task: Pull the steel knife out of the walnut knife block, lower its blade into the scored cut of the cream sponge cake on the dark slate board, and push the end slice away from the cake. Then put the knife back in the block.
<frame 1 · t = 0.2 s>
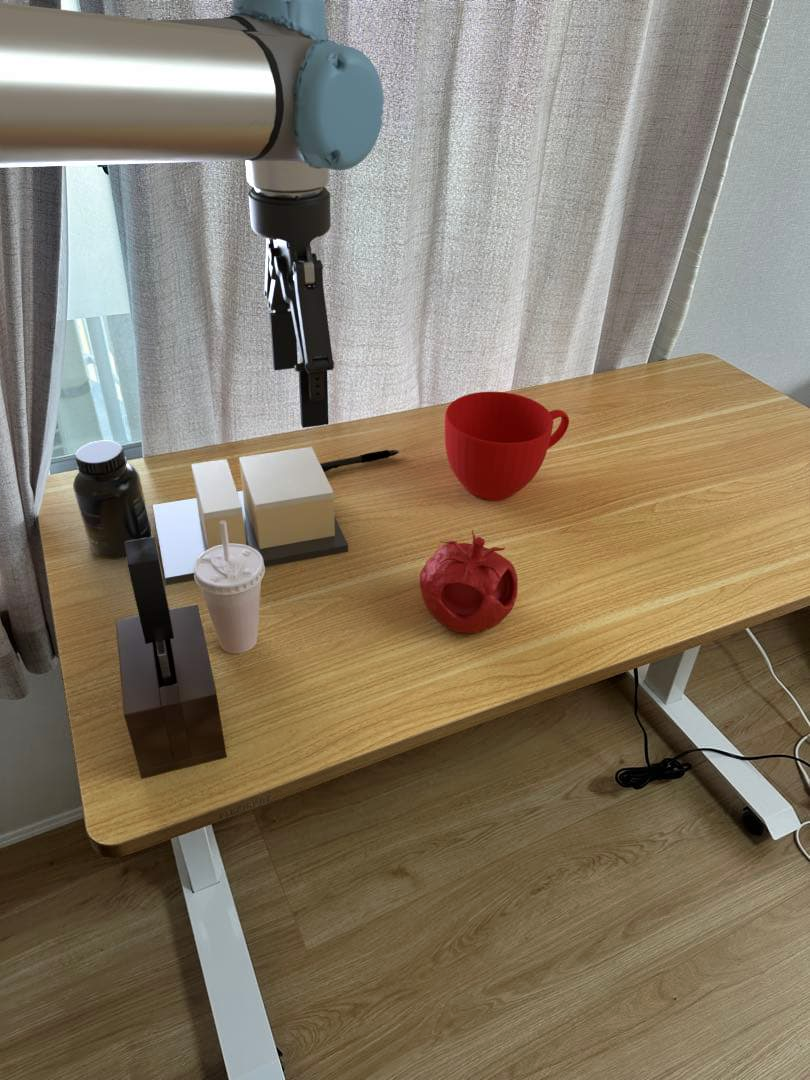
hand: (299, 394, 87), 15 cm above the table, tool pointing down, fingers open, 13 cm apart
ceramic cup: (503, 483, 103), on the table
cake: (288, 524, 95), resting on cake board
pen: (349, 467, 105), on the table
knife block: (177, 718, 71), on the table
knife: (175, 711, 71), point 1 cm above the table, touching knife block
supplement bottle: (121, 543, 91), on the table
smoothie: (238, 641, 79), on the table
cake slice: (221, 528, 92), point 1 cm above the table, touching cake board
pomegranate: (466, 612, 84), on the table
cake board: (248, 531, 93), on the table
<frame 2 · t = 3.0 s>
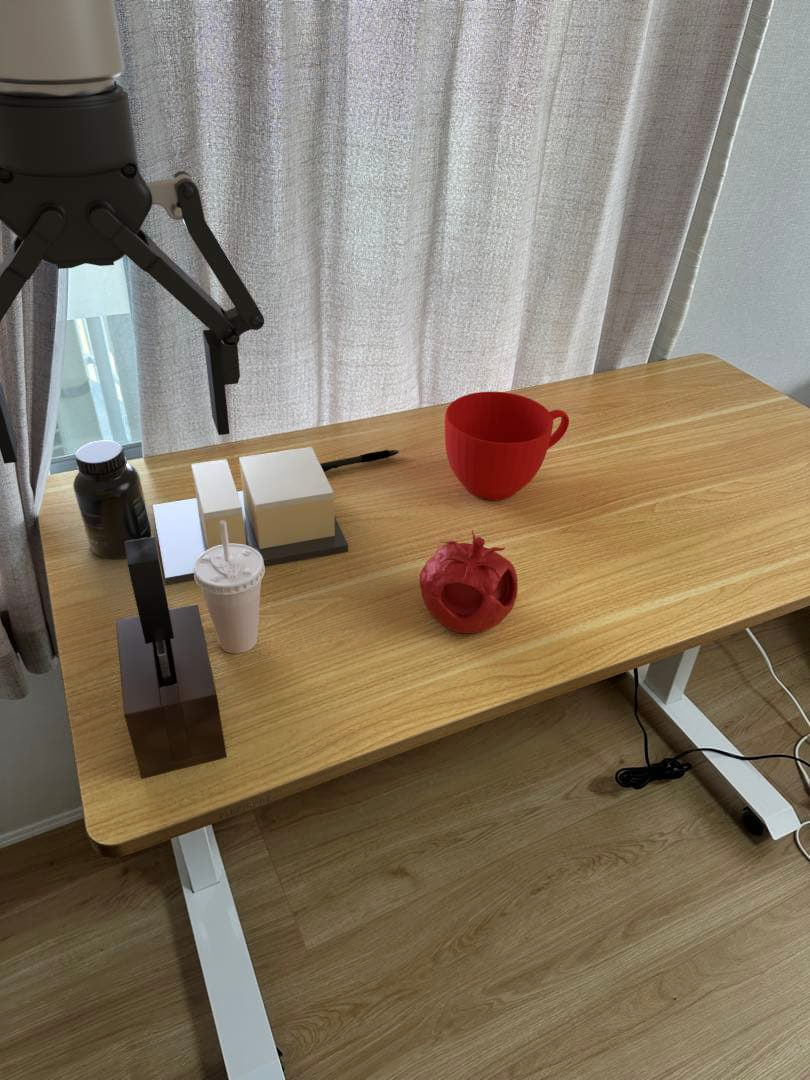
hand: (119, 438, 55), 28 cm above the table, tool pointing down, fingers open, 13 cm apart
nothing on the table moved.
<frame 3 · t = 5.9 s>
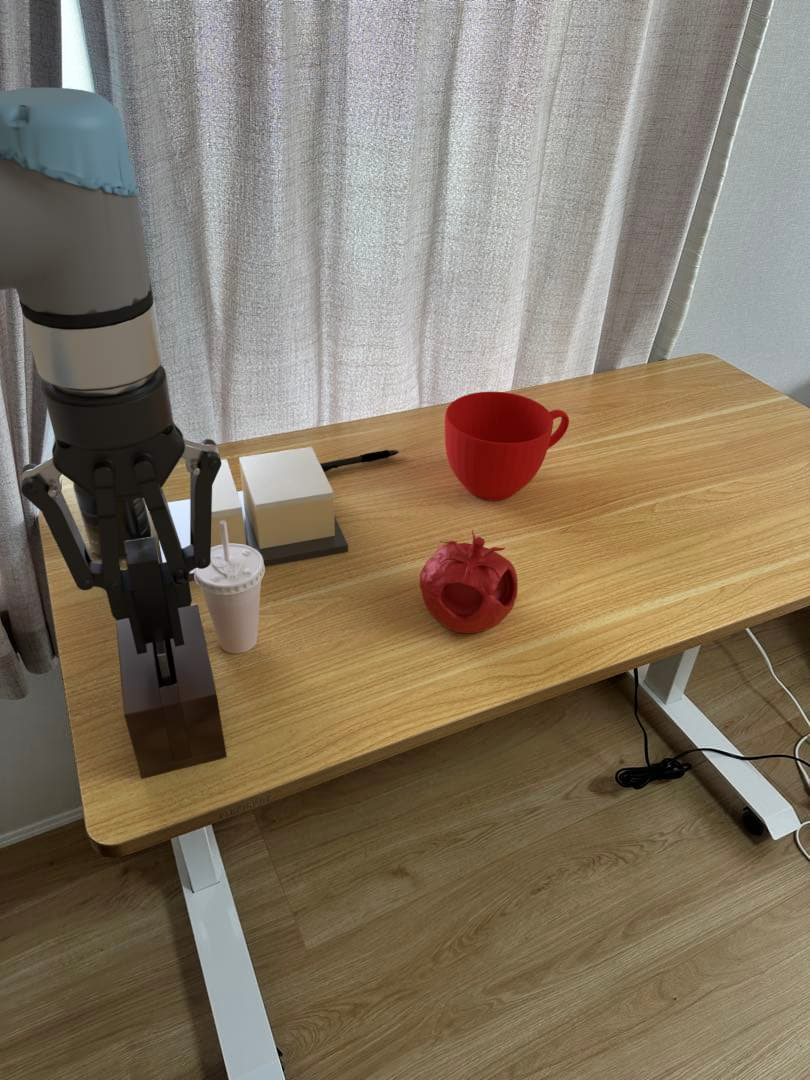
hand: (159, 637, 65), 10 cm above the table, tool pointing down, fingers closed on knife, 2 cm apart
knife: (174, 711, 71), point 1 cm above the table, touching gripper
everything else where it was.
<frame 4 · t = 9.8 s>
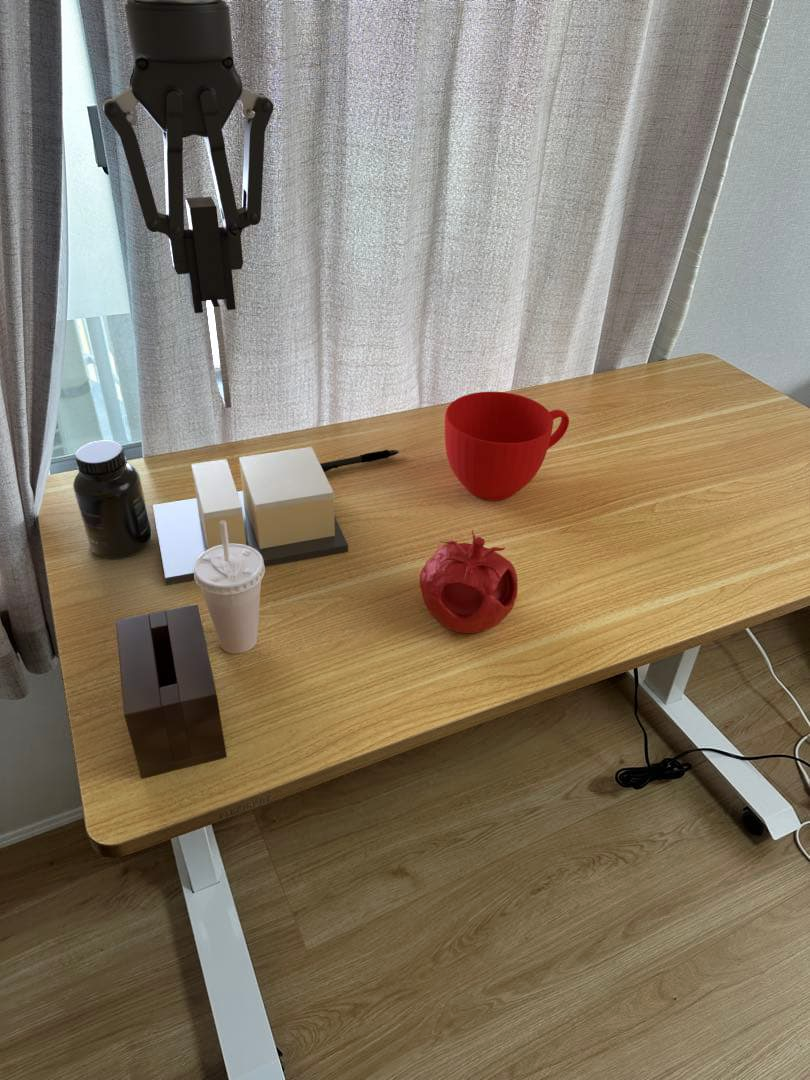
hand: (213, 305, 74), 28 cm above the table, tool pointing down, fingers closed on knife, 2 cm apart
knife: (223, 393, 79), point 19 cm above the table, touching gripper
everything else where it was.
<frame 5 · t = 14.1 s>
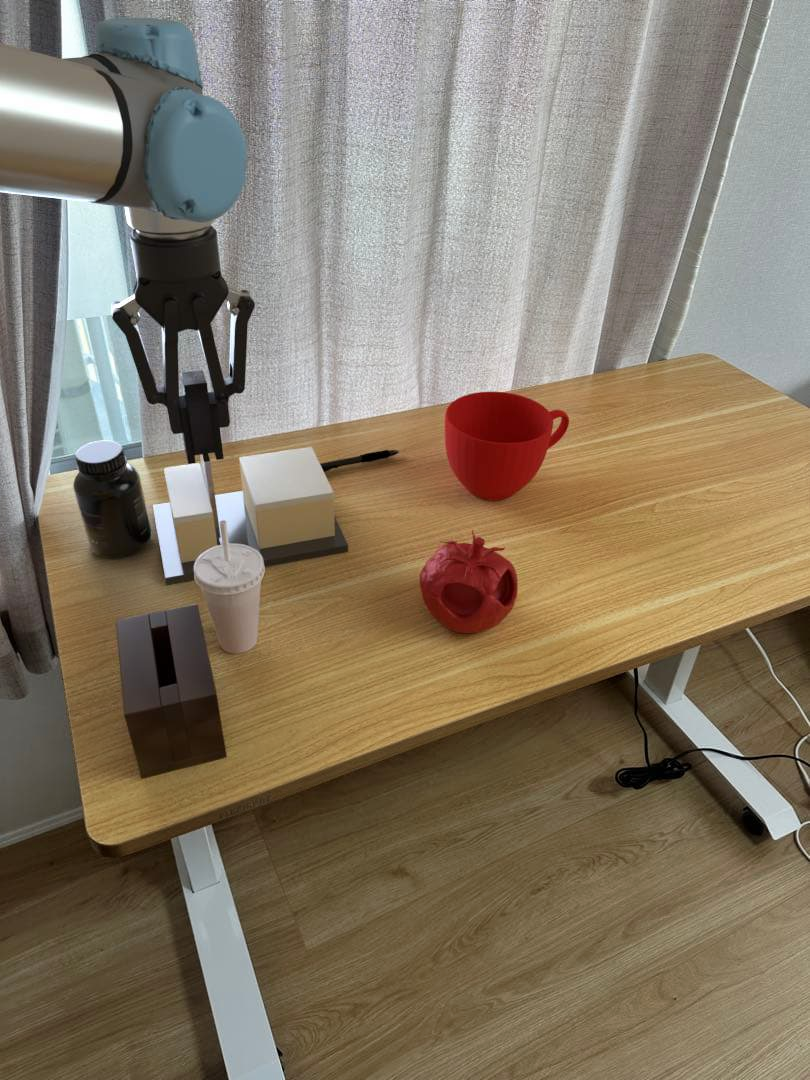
hand: (204, 454, 85), 11 cm above the table, tool pointing down, fingers closed on knife, 2 cm apart
knife: (214, 523, 91), point 2 cm above the table, touching cake slice, gripper
cake slice: (194, 533, 91), point 1 cm above the table, touching cake board, knife
everything else where it was.
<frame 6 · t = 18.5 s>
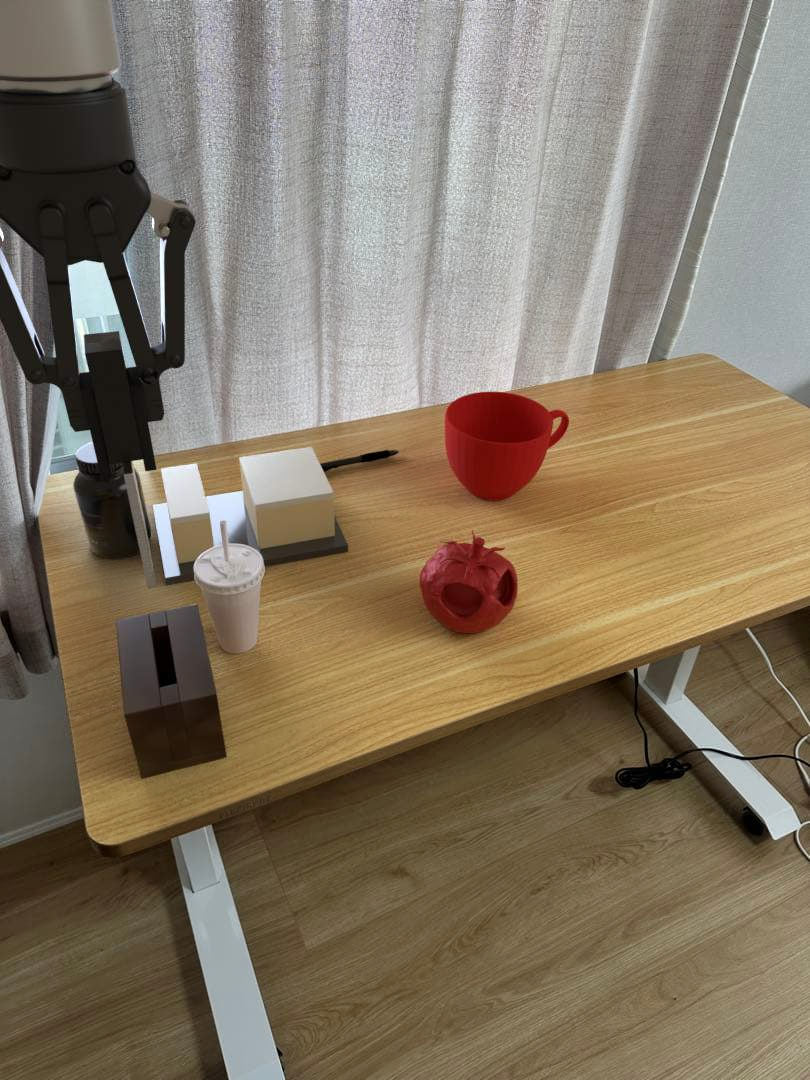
hand: (127, 463, 56), 26 cm above the table, tool pointing down, fingers closed on knife, 2 cm apart
knife: (148, 563, 62), point 17 cm above the table, touching gripper
cake slice: (191, 533, 91), point 1 cm above the table, touching cake board
everything else where it was.
when the fingers open (10 cm above the table, at t = 22.2 s): knife stays where it is, resting on knife block.
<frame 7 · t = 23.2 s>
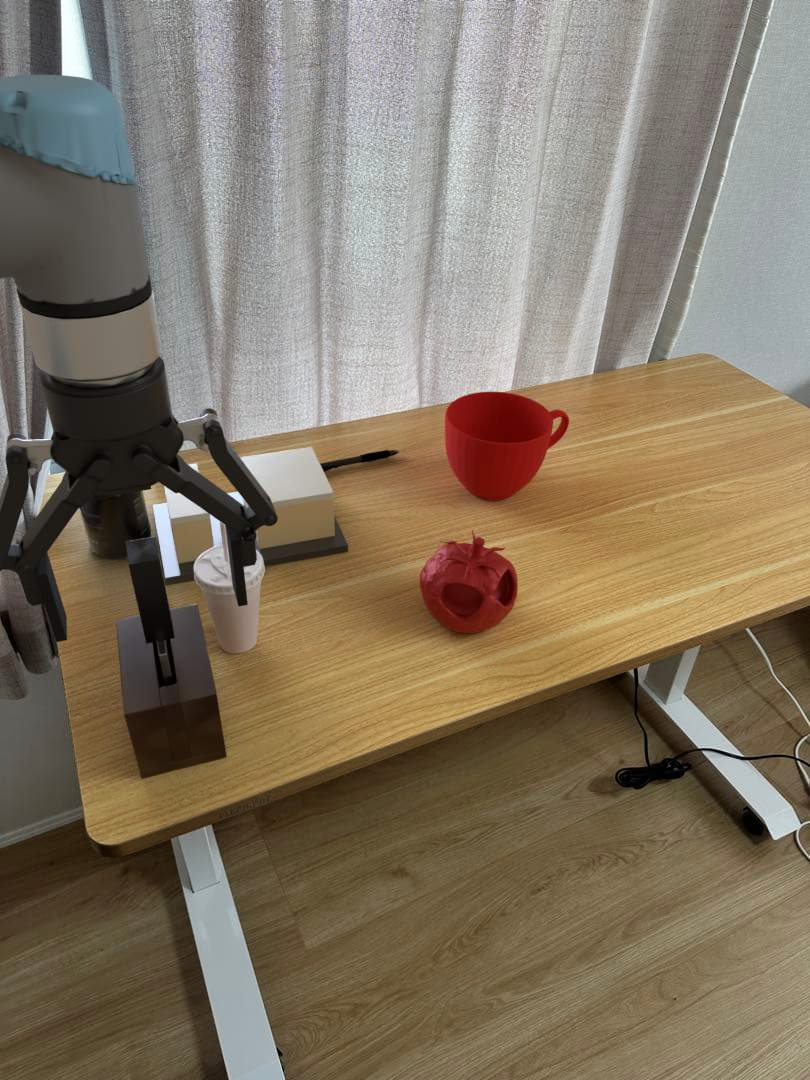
hand: (153, 612, 63), 13 cm above the table, tool pointing down, fingers open, 13 cm apart
knife: (176, 711, 71), point 1 cm above the table, touching knife block
everything else where it was.
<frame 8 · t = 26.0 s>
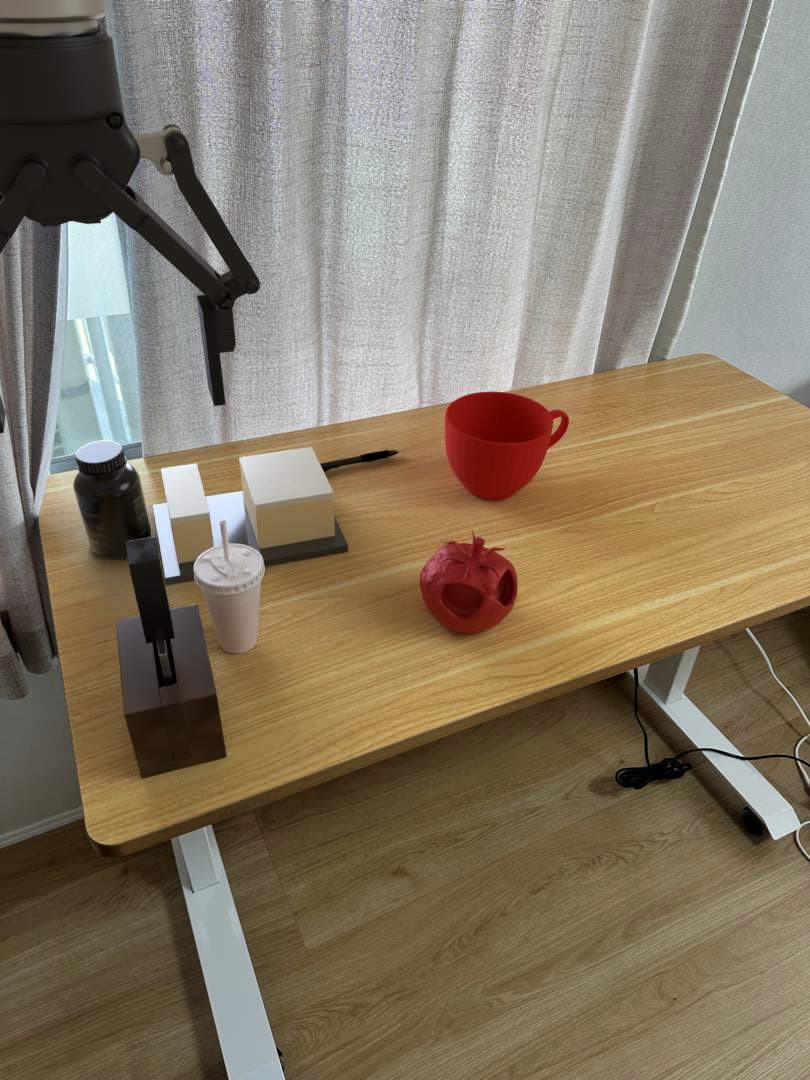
hand: (111, 410, 53), 31 cm above the table, tool pointing down, fingers open, 13 cm apart
nothing on the table moved.
at the end: cake slice moved 3.4 cm from its start; cake slice tilted 0°; knife 0.1 cm off-centre on the knife block, point 1.0 cm above the knife block's base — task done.
